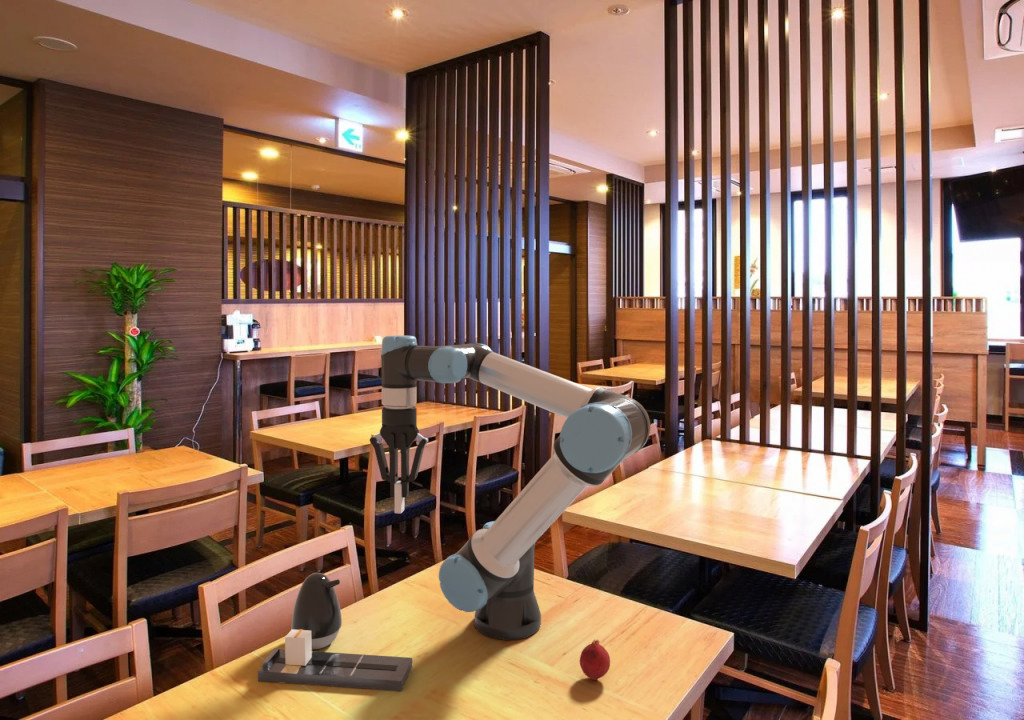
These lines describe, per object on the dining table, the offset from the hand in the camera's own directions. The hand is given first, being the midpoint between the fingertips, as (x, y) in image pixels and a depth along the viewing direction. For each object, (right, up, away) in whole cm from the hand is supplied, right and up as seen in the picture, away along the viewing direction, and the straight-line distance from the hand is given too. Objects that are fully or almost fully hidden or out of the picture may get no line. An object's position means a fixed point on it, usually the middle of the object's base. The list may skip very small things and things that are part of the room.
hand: (399, 511), depth 141 cm
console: (-9, -28, -17) cm, 34 cm away
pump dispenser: (-16, -27, -6) cm, 32 cm away
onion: (+41, -29, -18) cm, 53 cm away
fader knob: (-17, -25, -16) cm, 35 cm away
